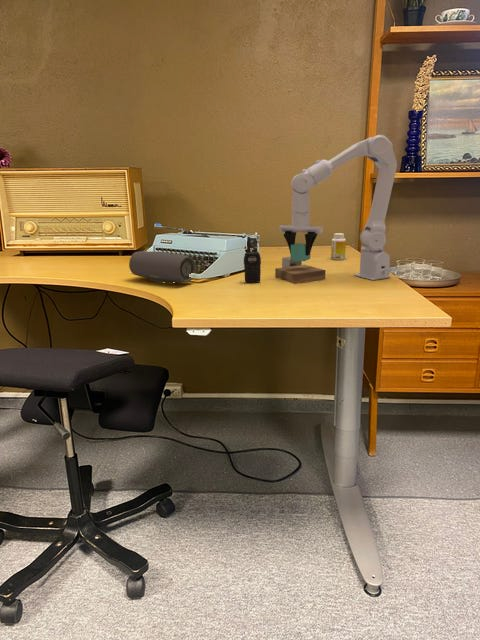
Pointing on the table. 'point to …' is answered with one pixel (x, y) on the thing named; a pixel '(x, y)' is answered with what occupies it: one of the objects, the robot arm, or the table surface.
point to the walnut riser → (300, 273)
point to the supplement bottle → (338, 247)
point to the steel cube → (290, 262)
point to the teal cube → (299, 252)
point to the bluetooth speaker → (162, 266)
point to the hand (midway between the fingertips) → (300, 254)
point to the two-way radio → (252, 264)
